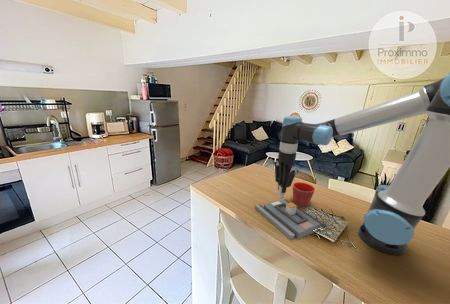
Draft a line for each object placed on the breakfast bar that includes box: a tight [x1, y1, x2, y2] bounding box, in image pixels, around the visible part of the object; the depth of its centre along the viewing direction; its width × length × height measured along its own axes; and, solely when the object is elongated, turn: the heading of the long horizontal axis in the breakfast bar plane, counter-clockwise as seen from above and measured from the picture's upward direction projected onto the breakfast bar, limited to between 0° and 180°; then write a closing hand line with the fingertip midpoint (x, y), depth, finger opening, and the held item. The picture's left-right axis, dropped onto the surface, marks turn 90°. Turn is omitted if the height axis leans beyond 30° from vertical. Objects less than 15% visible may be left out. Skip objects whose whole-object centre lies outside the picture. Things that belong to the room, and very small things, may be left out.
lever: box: [285, 201, 298, 216], centre depth 85 cm, size 3×3×5 cm
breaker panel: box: [263, 198, 321, 240], centre depth 86 cm, size 22×13×4 cm, turn 28°
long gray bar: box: [283, 198, 327, 229], centre depth 90 cm, size 24×3×2 cm, turn 27°
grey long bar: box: [254, 204, 297, 240], centre depth 84 cm, size 24×3×2 cm, turn 28°
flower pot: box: [292, 181, 315, 207], centre depth 99 cm, size 11×11×10 cm
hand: (280, 197), depth 90 cm, fingers closed
